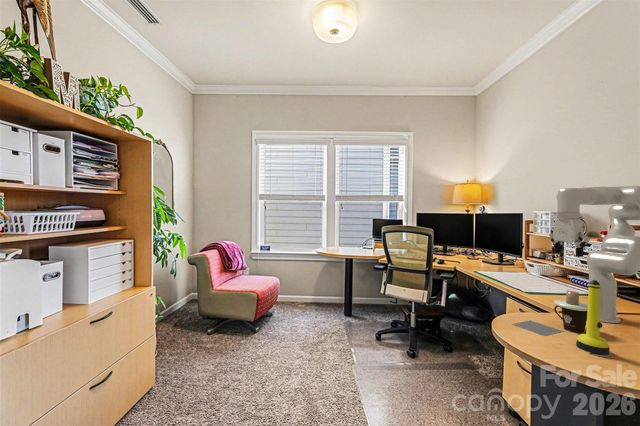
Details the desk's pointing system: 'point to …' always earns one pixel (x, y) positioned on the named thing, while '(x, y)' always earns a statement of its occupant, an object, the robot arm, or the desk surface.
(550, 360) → the desk surface
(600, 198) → the robot arm
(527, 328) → the mat
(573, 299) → the lid
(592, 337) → the flashlight
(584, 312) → the coffee mug
